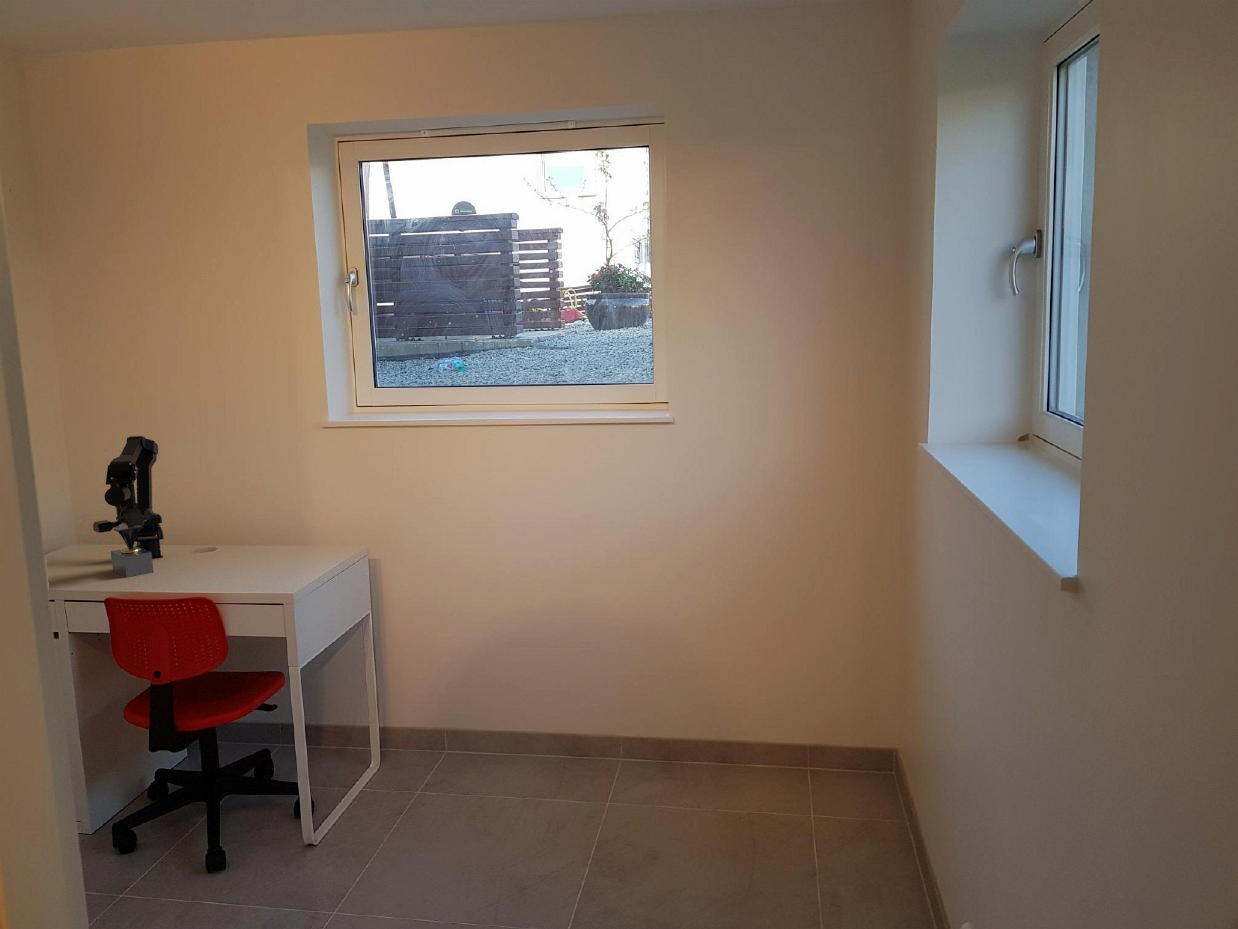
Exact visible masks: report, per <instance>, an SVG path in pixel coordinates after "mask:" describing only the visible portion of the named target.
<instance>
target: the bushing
mask: <svg viewBox="0 0 1238 929" xmlns="http://www.w3.org/2000/svg"><path fill="white" fill-rule="evenodd" d="M120 550H121V549H120ZM140 551H141V548H140V547H136V546H133V549H131V550H129V549H128V547H126V548H122V550H121V553H122V554H131V553H137V552H140Z"/></svg>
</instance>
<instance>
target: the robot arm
mask: <svg viewBox="0 0 1238 929" xmlns="http://www.w3.org/2000/svg"><path fill="white" fill-rule="evenodd" d="M125 441H126V443H125V444H124V447H123V448H122V450H121V453H120V455H119V456H117V457H114V458H112V460H111V461H110V462H109V464H108V465H107V468H106V475H105V476H106V478H105V485H106V486H107V485H108V486H110V488H108V489H107V490H106V491H105V493H104V501H105V502H106V504H108V505H109V506H111V507H114V508H115V510H116V516H115V520H116V521H111V520H108V519H106V520H105V519H104V520H99V521H94V522H93V524H92V530H93V531H94V532H96V533H101V534H102V533H107V532H108V533H109V532H111V531H112V530H113V531H114V532H117V533H118V535H120V537H121V538H122V540H123V541H124V544H125V545H126V548H128V549H129V550H131V549H133V547H140V548H142V549H145V550H147V551H150V552H151V553H152V560H155V558H156V559H161V558H163V557H164V555H162V552H161V551H162V550H161V542H160V541H161V540H164V537H165V536H164V531H163V528H162V526H161V524H162V523H163V519H162V517H163V516H162V515H160V514H159V513H156V512H154V511H153V484H152V483H153V477H152V476H153V473H152V472H153V471H152V468H153V466H154V465H155V463H156V462H157V459H158V457H157V456H158V455H159V445H158V443H157V442H156V441H155V440H153V439H149V438H146V437H145V436H143V435H135V436H134V435H133V436H127V438H126V440H125ZM135 482H136V488H135ZM135 489H136V490H135ZM135 542H136V545H135Z"/></svg>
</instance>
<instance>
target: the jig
mask: <svg viewBox="0 0 1238 929" xmlns="http://www.w3.org/2000/svg"><path fill="white" fill-rule="evenodd" d="M122 549H123V548H122ZM122 549H121V548H120V549H116V550H111V551H110V558H111V566H112V572H114V573H116V574H118V575H120V576H122V577H124V578H130V577H136V576H141V575H146V574H151V573H154V566H153V559H152V553H151V552H150V551H147V550H145V549H142V548H141V551H140V552H137V553H131V554H122V553H121V550H122Z"/></svg>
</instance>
